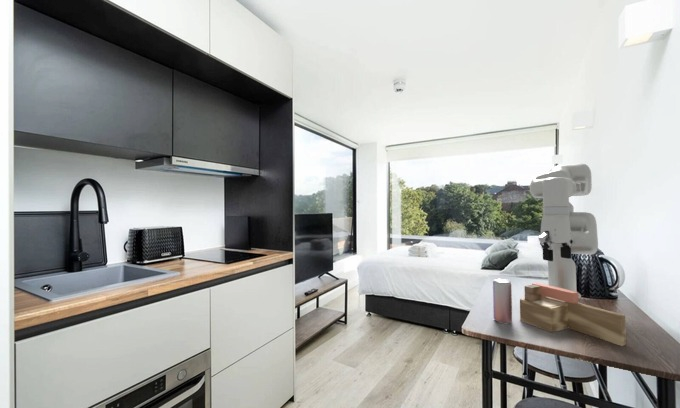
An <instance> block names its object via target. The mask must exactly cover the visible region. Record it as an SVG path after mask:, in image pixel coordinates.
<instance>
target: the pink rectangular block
mask: <svg viewBox="0 0 680 408" xmlns="http://www.w3.org/2000/svg"><path fill="white" fill-rule="evenodd" d="M531 285H537V286H541V295H543V296H547V297H550V298H554V299H558V300H562V301H565V302H569V303H573V304H574V303H578V302H579V303H580V301H579V299H580V298H579V295H578V293H579V292H578V291H576V292H575V291H571V290H567V289H562V288H558V287H554V286H549V285H548V284H546V283H540V282H534V283H531Z"/></svg>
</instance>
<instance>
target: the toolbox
mask: <svg viewBox="0 0 680 408" xmlns="http://www.w3.org/2000/svg"><path fill="white" fill-rule="evenodd" d="M541 296H543V295H541ZM546 297H547V296H546ZM557 300H558V299H557ZM561 301H562V300H561ZM519 314H520V315H519V321H520V322H523V323H525V324H528V325H531V326H533V327H536V328H538V329H542V330H544V331H547V332H549V333H554V332H558V331H562V330H565V329H566V330H567V329H570V330H574V331H577V332H579V333H583V334H585V335H588V334H589V335H588V336H591V335H592V336H591V337H594V336H595V337H594V338H597V339H599V338H600V339H599V340H602V339H603V341H606V342H608V343H611V344H615V345H618V346H620V347H623V346H626V345H627V339H626V338H627V335H626V334H627V333H626V330H627V329H626V314H623V313H619V312H615V311H611V310H607V309H603V308H601V307H595V306H592V305H588V304H584V303H581V302H579V303H574V304H573V303H569V302H565V304H563V305H559V306H555V307H547V306H544V305H540V304H537V303H534V302H530V301H527V300H525V297H523V298H519Z"/></svg>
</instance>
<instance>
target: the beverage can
mask: <svg viewBox="0 0 680 408" xmlns="http://www.w3.org/2000/svg"><path fill="white" fill-rule="evenodd" d="M492 289H493V290H492V296H493V297H492V298H493V299H492V300H493V304H492V305H493V320H494V321H495V322H497V323H499V324H506V325H510V324H511V323H512V322H513V301H512V300H513V298H512V297H513V295H512V282H511V280H509V279H505V278H494V279H493V281H492Z"/></svg>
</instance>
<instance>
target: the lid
mask: <svg viewBox="0 0 680 408" xmlns="http://www.w3.org/2000/svg"><path fill="white" fill-rule="evenodd" d="M524 298H525V300H527V301H530V302H534V303H537V304H540V305H544V306H547V307H555V306H559V305H563V304H565V301H561V300H557V299H554V298H550V297H546V296H541V286H537V285H532V284H529V285H524Z"/></svg>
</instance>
